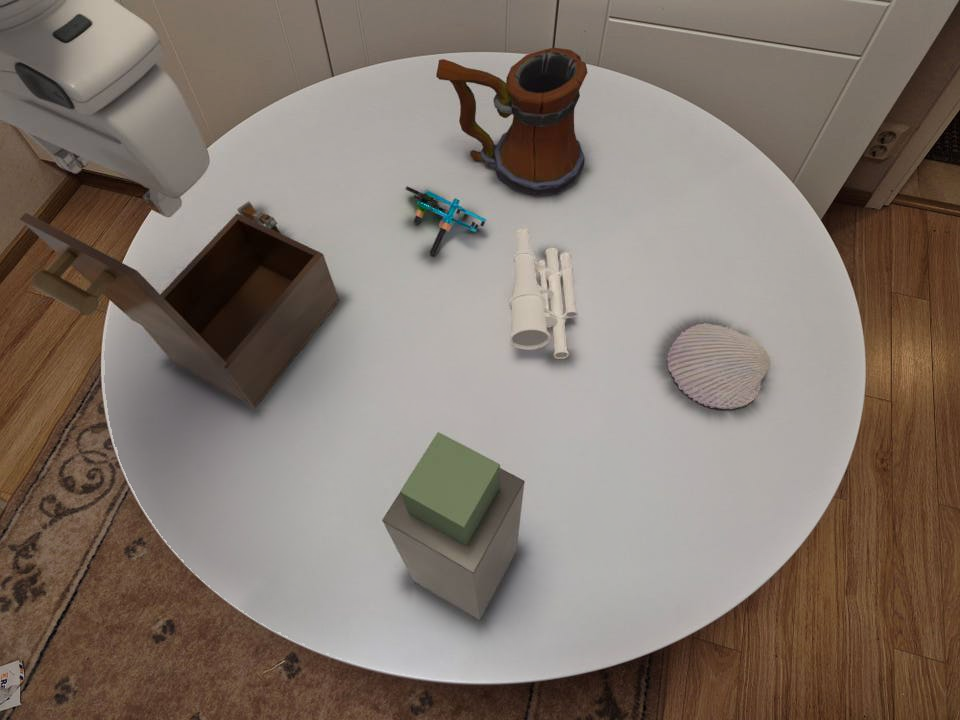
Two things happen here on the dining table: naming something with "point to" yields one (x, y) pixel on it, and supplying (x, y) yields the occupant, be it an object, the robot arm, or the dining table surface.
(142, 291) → the chest lid
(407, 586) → the dining table surface
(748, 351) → the seashell
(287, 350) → the chest
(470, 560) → the stand
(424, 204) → the stick construction toy
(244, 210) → the wooden post with brackets
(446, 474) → the block
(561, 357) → the white tubular piece
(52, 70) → the robot arm
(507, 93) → the mug
